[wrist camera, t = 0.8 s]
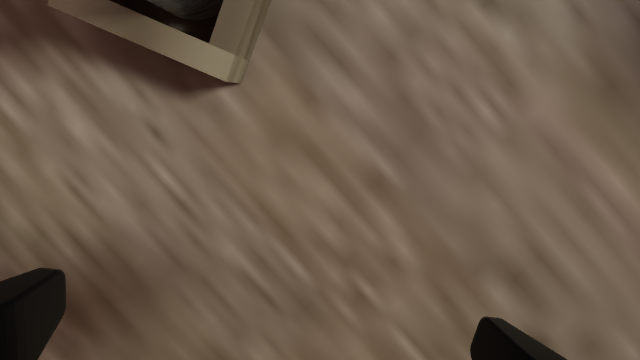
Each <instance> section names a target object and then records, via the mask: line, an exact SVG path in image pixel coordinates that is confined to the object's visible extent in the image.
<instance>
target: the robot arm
mask: <svg viewBox="0 0 640 360" xmlns="http://www.w3.org/2000/svg"><path fill="white" fill-rule="evenodd" d="M65 308H66V282H65V274H64V272H63V271H62V270H60V269H51V268H38V269H35V270H32V271H29V272H26V273H23V274H20V275H18V276H15V277H12V278H9V279H6V280H3V281H0V360H38V358H39V356H40V355H41V353H42V351H43V350H44V348H45V346H46V344H47V343H48V341H49V339H50V338H51V336H52V334H53V332H54V331H55V329H56V327H57V326H58V324H59V322H60V320H61V319H62V317H63V315H64V312H65ZM470 353H471V358H472V360H567V359H566V358H564V357H562V356H561V355H559V354H558V353H556V352H554V351H553V350H551V349H549V348H548V347H546V346H545V345H543V344H541V343H540V342H538V341H537V340H535V339H533V338H532V337H530V336H529V335H527V334H525V333H524V332H522V331H521V330H519V329H517V328H516V327H514V326H513V325H511V324H509V323H508V322H506V321H505V320H503V319H501V318H494V317H483V318H482V319H481V320H480V321H479V324H478V327H477V329H476V332H475V335H474V338H473V341H472V343H471V348H470Z"/></svg>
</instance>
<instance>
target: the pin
mask: <svg viewBox="0 0 640 360" xmlns="http://www.w3.org/2000/svg"><path fill="white" fill-rule="evenodd" d="M147 1H149V2H151V3H153V4H155V5H156V6H158V7H160V8H162V9H164V10H166V11H168V12H170V13H172V14H174V15H176V16H178V17H180V18H183V19H187V20H202V19H207V18H210V17H212V16H214V15H216V14H217V13H219V12H220V9H221V6H222V3H223V1H224V0H147Z"/></svg>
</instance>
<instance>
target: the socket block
mask: <svg viewBox="0 0 640 360" xmlns="http://www.w3.org/2000/svg"><path fill="white" fill-rule="evenodd" d="M270 2H271V0H224V1H223V3H222V6H221V9H220V12H219V15H218V18H217V21H216V24H215V27H214V30H213V33H212V36H211V39H210V42H209V43H206V42H204V41H202V40H199V39H197V38H195V37H192V36H190V35H188V34H185V33H183V32H181V31H179V30H176V29H174V28H172V27H169V26H167V25H165V24H162V23H160V22H158V21H156V20H153V19H151V18H149V17H146V16H144V15H142V14H139V13H137V12H135V11H133V10H130V9H128V8H126V7H123V6H121V5H120V3H121V0H48V4H47V5H48V6H50V7H52V8H55V9H57V10H59V11H62V12H64V13H66V14H69V15H71V16H73V17H76V18H78V19H80V20H83V21H85V22H87V23H90V24H92V25H94V26H97V27H99V28H101V29H104V30H106V31H108V32H111V33H113V34H115V35H118V36H120V37H122V38H125V39H127V40H129V41H132V42H134V43H136V44H139V45H141V46H143V47H146V48H148V49H150V50H153V51H155V52H157V53H160V54H162V55H164V56H167V57H169V58H171V59H174V60H176V61H178V62H181V63H183V64H185V65H188V66H190V67H192V68H195V69H197V70H199V71H202V72H204V73H206V74H209V75H211V76H213V77H216V78H218V79H221V80H223V81H225V82H232V83H240V84H241V81H242V78H243V76H244V73H245V70H246V67H247V65H248V62H249V59H250V57H251V54H252V51H253V48H254V46H255V43H256V40H257V37H258V35H259V32H260V29H261V27H262V24H263V21H264V18H265V16H266V13H267V10H268V7H269V5H270Z"/></svg>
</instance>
